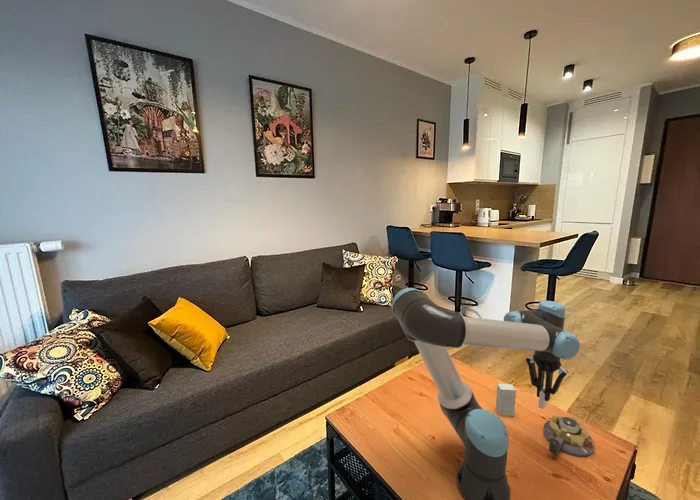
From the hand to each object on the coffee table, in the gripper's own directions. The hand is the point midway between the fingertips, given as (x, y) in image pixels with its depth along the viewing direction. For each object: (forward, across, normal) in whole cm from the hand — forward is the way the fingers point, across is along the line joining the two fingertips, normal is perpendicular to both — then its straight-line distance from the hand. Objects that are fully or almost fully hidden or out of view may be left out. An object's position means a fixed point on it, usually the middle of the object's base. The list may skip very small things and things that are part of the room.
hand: (542, 406), depth 108 cm
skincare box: (+15, +15, -5) cm, 22 cm away
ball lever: (+12, -6, -5) cm, 14 cm away
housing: (+15, -6, -9) cm, 18 cm away
